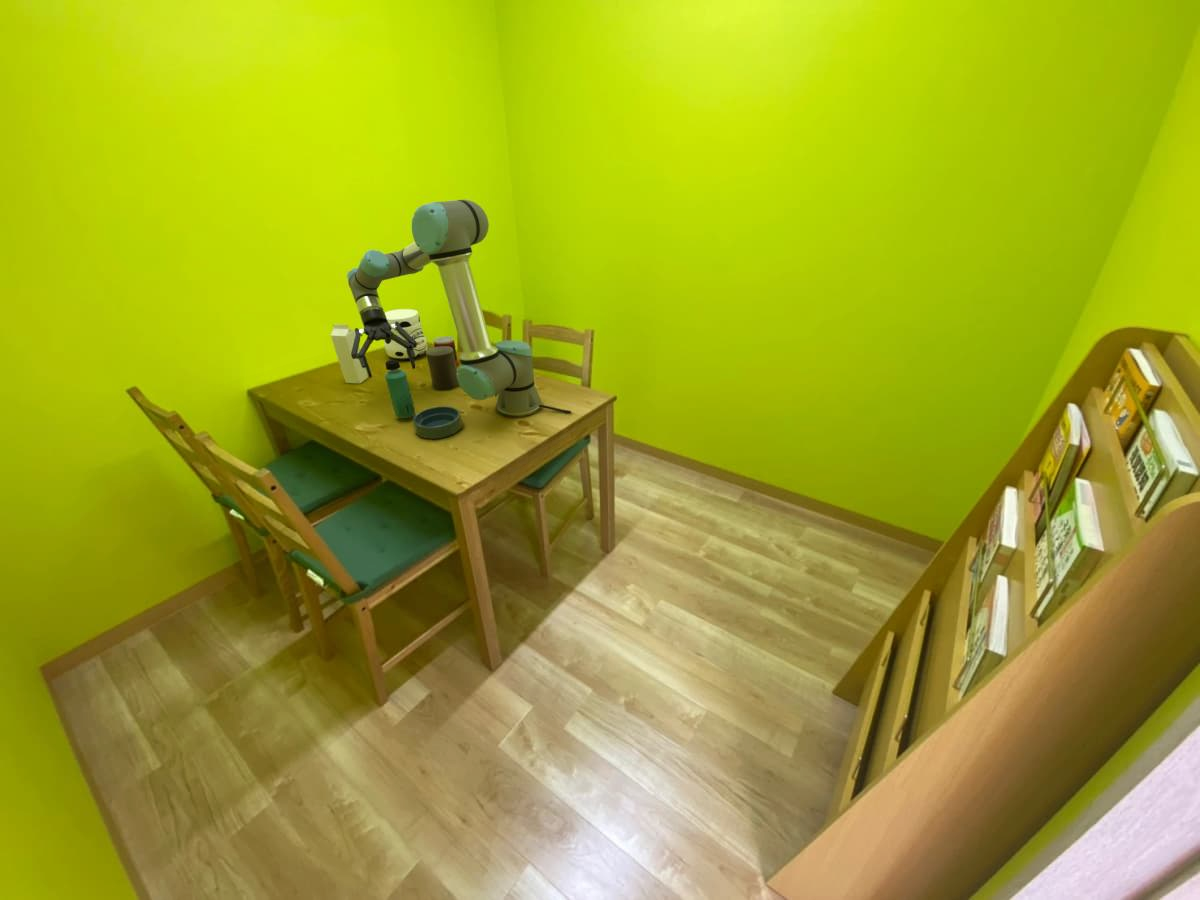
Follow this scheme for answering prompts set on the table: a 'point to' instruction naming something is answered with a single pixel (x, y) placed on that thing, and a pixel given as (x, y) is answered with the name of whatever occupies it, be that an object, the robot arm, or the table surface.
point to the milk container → (412, 326)
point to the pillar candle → (442, 367)
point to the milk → (347, 354)
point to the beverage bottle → (399, 390)
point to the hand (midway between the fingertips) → (392, 371)
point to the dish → (437, 422)
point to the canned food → (446, 344)
